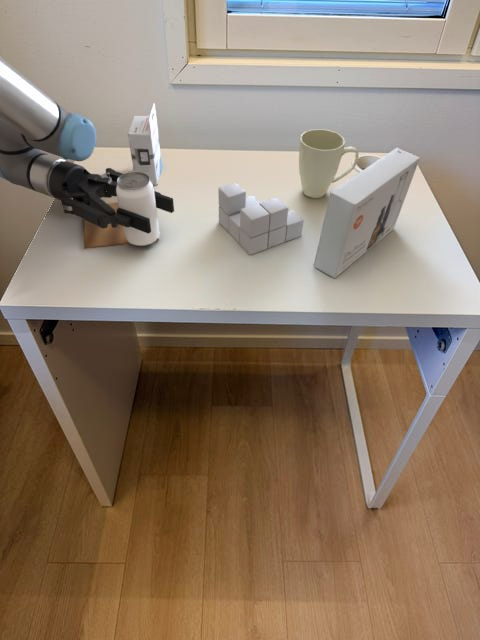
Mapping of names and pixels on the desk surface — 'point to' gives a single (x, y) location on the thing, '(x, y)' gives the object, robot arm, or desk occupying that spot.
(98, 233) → the wooden coaster
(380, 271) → the desk surface
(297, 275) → the desk surface
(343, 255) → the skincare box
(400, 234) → the desk surface
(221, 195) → the stacked white cubes
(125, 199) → the can
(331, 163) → the mug
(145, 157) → the ink box
